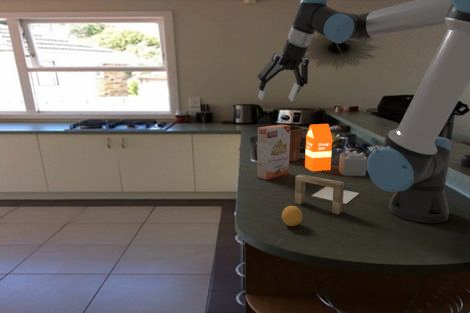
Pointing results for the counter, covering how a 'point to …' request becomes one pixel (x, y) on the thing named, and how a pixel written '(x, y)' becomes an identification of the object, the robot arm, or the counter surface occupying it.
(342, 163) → the grey toy brick
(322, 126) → the orange juice
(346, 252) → the counter surface
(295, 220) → the ball
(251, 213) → the counter surface
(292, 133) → the plant pot
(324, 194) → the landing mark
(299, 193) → the bridge
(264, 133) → the cracker box
